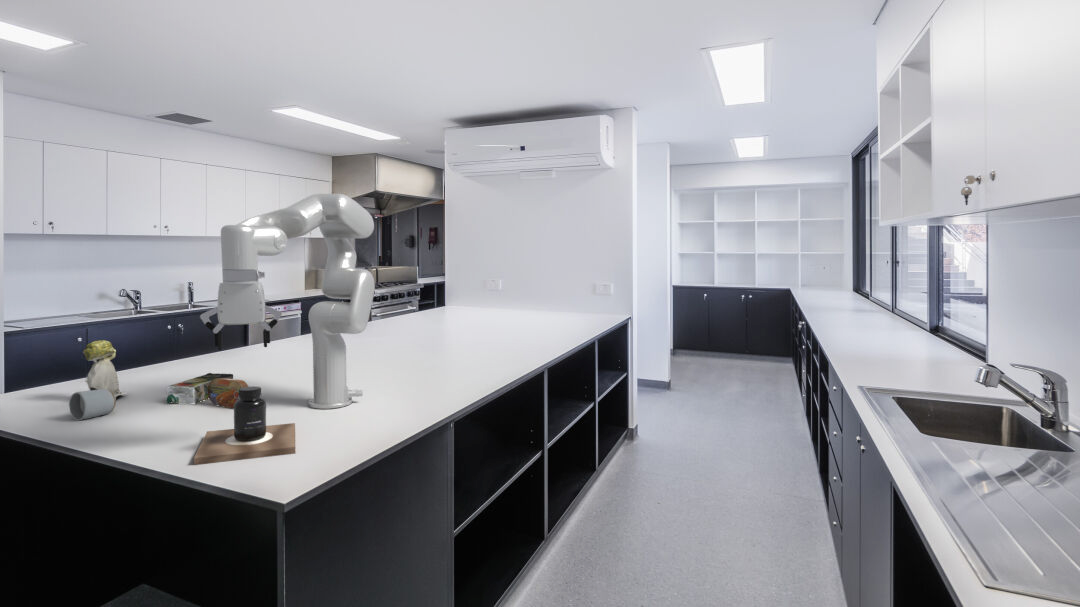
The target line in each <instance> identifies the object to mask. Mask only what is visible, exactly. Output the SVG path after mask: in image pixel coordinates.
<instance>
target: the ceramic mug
mask: <svg viewBox="0 0 1080 607" xmlns="http://www.w3.org/2000/svg"><path fill="white" fill-rule="evenodd" d="M68 402H69V404H68V407H69V408H68V409H69V412H70V414H71V417H72V418H73V419H75V421H82V420H83V419H84V420H87V419H91V418H92V417H93V418H95V417H101V415H102V416H105V415H108V414H111V413H112V412H113V411H114V410H115V407H116V399H115V396H114V394H113V393H112V392H111V391H110V390H107V389H99V390H91V391H90V390H84V391H83V390H82V391H76V392H73V394H71V395H70V399H69V401H68Z"/></svg>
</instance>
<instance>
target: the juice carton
mask: <svg viewBox="0 0 1080 607" xmlns="http://www.w3.org/2000/svg"><path fill="white" fill-rule="evenodd" d="M216 378H228V379H234V374H232V373H212V372H208V373H206V374H203V375H199V376H195V377H193V378H189V379H187V380H184V381H181V382H177V383H174V384H171V385H167V386H166V400H165V401H166V403H167V404H172V403H171V402H174V404H178V403H196V404H198V403H197V402H199V403H201V402H200V401H202V402H204V401H203V400H205V401H207V400H209V399H208V398H209V397H208V386H209V384H210V382H211V381H212V380H213V379H216ZM206 399H207V400H206Z"/></svg>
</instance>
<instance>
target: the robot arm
mask: <svg viewBox="0 0 1080 607" xmlns="http://www.w3.org/2000/svg"><path fill="white" fill-rule="evenodd" d="M374 222H375V221H374V218H373V217H372V215H371V213H370V212H369V211H368V210H366V209H365V208H364V207H363V206H362V205H361V204H360V203H358V202H357V201H356V200H354V198H353V199H352V198H351V197H349V196H348V195H346V194H344V193H316V194H311V195H309V196H307V197H305V198H303V199H301V200H299V201H297V202H295V203H294V204H291V205H289V206H287V207H285V208H280V209H277V210H273V211H270V212H266V213H263V214H260V215H256V216H253V217H249V218H247V219H244V220H243V221H241V222H239V223H237V224H226V225H224V226H222V227H221V229H220V245H221V246H220V248H221V250H220V251H221V269H222V270H221V272H222V274H221V275H222V282H220V283H219V285H218V290H217V291H218V292H217V306H216V307H214V308H212V309H209V310H207V311H206V312H203V313H202V314H200V316H199V318H200V320H201V321H202V323H203V324H204V325H205V327H206V328H208V329H209V330H210V331H211V332H213V334H214V346H215V347H217V349H218V351H221V350H223V348H224V343H223V341H224V339H223V332H222V329H223V327H225V326H232V325H233V326H235V325H236V326H237V325H258V324H259V325H260V326H262V328H263V331H262V332H263V333H262V334H263V335H262V338H263V347H264V348H267V347H268V344H271V333H270V332H271V329H273V328H274V327H275V326H276V325H277V324H278V322H279V320H280V318H281V317H282V315H283V314H282V311H280V310H277V309H275V308H273V307H271V306H269V305H266V298H265V292H264V287H263V286H264V285H263V282H259V279H262V278H265V277H266V276H265V274H266V273H265V271H260V270H259V267H258V266H259V264H258V256H259V257H260V256H261V257H262V256H264V257H265V256H266V257H270V256H271V257H272V256H278V255H281V254H282V253H283V252H284V251H285V250H286V248H287V246H288V240H290V239H294V238H301V237H303V236H304V237H305V235H308V233H311V232H312V231H313V230H315V229H317V228H318V227H319V230H320V232H321V235H322V236H323V238H324V241H325V244H326V247H327V251H328V252H327V260H326V262H325V263H326V264H325V268H324V271H323V272H324V273H323V276H322V280H321V291H322V292H321V293H322V294H323V295H324V296H325V297H327V298H329V299H338V300H350V302H349V301H332V300H330V301H329V300H328V301H327V300H325V301H319V302H317V303H315V304H313V305H312V306H311V307H310V309H309V311H308V324H309V327H310V333H311V338H312V368H313V369H312V370H313V371H312V374H313V375H312V376H313V378H312V379H313V380H312V381H313V382H312V383H313V398H311V399H309V400H308V404H307V405H308V407H310V408H313V409H319V410H321V409H324V410H326V409H327V410H329V409H337V408H342V407H347V406H348V405H350V404H352V403H353V399H352V397H357V398H358V397H363V390H362V389H349V388H348V386H347V383H348V382H347V345H346V343H345V340H344V338H343V336H342V335H341V334H345V335H346V334H349V335H353V334H354V335H359V334H361V333H363V332H364V331H365V330H366V328H367V326H368V323H369V319H370V314H371V309H372V305H373V300H374V295H375V291H376V290H375V289H376V288H375V286H376V285H375V279H374V276H373V274H372V272H370V271H369V270H367V269H365V268H356V264H357V251H355V248H354V247H353V245H352V244H351V242H350V241H349V239H367V238H369V237H370V236H371V235H372V234H373V232H374V230H375V223H374ZM267 313H268V314H271V315H273V318H272V320H270V321H269V322H267V321H266V316H267ZM215 314H217V320H218V323H217V324H214V323H213V322H212V321H211V320H210V317H211V316H214V315H215Z"/></svg>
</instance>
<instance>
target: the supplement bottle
mask: <svg viewBox="0 0 1080 607" xmlns="http://www.w3.org/2000/svg"><path fill="white" fill-rule="evenodd" d="M261 396H262V387H261V386H249V387H243V388H240V389H239V395H238V397H239V398H240V399H239V400H237V401H236V402H235V404H234V408H233V429H234V438H235V439H236V440H237V441H242V442H247V441H255V440H259V439H262V438H264V437H265V435H266V426H267V403H266V400H265V399H264V398H262V397H261Z"/></svg>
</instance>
